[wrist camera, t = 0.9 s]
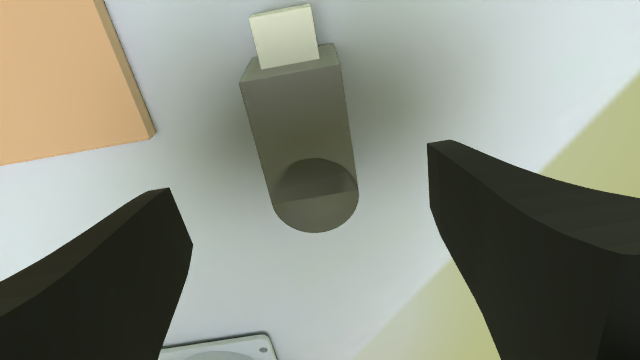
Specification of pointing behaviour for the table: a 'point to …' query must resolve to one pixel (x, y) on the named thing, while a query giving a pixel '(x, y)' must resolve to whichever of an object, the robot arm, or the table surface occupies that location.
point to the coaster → (64, 81)
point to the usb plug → (300, 121)
